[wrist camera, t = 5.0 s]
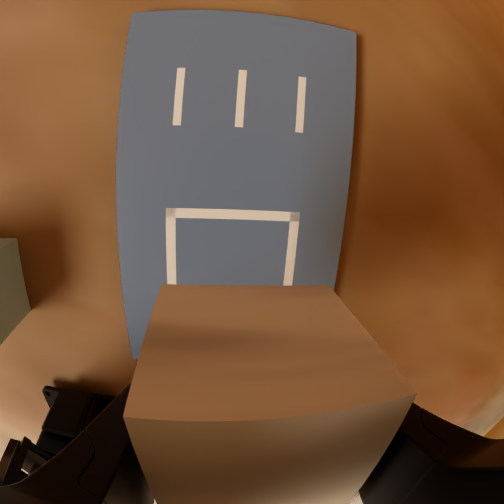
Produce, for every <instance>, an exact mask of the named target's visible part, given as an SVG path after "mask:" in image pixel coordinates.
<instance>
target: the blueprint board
mask: <svg viewBox="0 0 504 504" xmlns="http://www.w3.org/2000/svg"><path fill="white" fill-rule="evenodd" d="M355 96H356V32H353V31H349V30H346V29H342V28H338V27H334V26H330V25H325V24H321V23H316V22H311V21H306V20H301V19H295V18H289V17H283V16H276V15H268V14H260V13H251V12H239V11H223V10H165V11H150V12H138V13H132V17H131V22H130V28H129V33H128V39H127V46H126V52H125V59H124V67H123V75H122V84H121V93H120V104H119V118H118V134H117V164H116V198H117V228H118V246H119V259H120V271H121V281H122V291H123V299H124V307H125V315H126V322H127V329H128V335H129V341H130V347H131V353H132V359H135V360H138V357H139V354H140V350H141V347H142V344H143V340H144V337H145V334H146V330H147V327H148V324H149V320H150V317H151V314H152V311H153V308H154V305H155V302H156V298H157V295H158V292H159V289H160V286H161V284H180V285H245V286H296V285H329V286H330V287H331V288H332V290H333V291H334V287H335V281H336V275H337V269H338V263H339V257H340V250H341V243H342V237H343V229H344V222H345V214H346V206H347V198H348V189H349V179H350V169H351V158H352V146H353V133H354V117H355Z"/></svg>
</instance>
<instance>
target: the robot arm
mask: <svg viewBox="0 0 504 504" xmlns="http://www.w3.org/2000/svg"><path fill="white" fill-rule="evenodd" d="M131 383H132V382H131ZM131 383H130V384H129V385H128V386H127V387H126V388H125V389H124V390H123V391H122V392H121V393H120V394H119V395H118V396H117V397H113V396H107V395H99V394H92V393H85V392H79V391H73V390H67V389H62V388H56V387H51V386H45V387H44V388H43V391H42V392H43V394H44V397H45V399H46V401H47V403H48V405H49V407H50V410H49V412H48V414H47V416H46V419H45V421H44V423H43V425H42V431H41V434H40V436H39V439H38V441H37V443H36V445H35V444H33V443H32V442H31V440H29V439H28V438H27V437H25V436H24V438H23V440H22V441H21V442H20V441H19V440H14V439H10V441H9V443H8V445H7V447H6V450H5V452H4V454H3V456H2V459H1V461H0V504H153V503H154V496H153V494H152V492H151V490H150V487H149V485H148V483H147V480H146V478H145V476H144V473H143V471H142V468H141V466H140V463H139V461H138V458H137V455H136V453H135V450H134V447H133V445H132V442H131V439H130V436H129V433H128V430H127V427H126V424H125V421H124V418H123V414H124V410H125V406H126V402H127V398H128V394H129V390H130V387H131ZM21 468H22V469H24V470H25V471H27V472H28V474H26V473H25V472H23V471H22V470H21ZM359 494H360V497H361V499H362V502H363V504H504V439H489V438H485V437H483V436H480V435H478V434H475V433H473V432H470V431H468V430H466V429H463V428H461V427H459V426H456V425H454V424H452V423H450V422H448V421H445V420H443V419H441V418H439V417H438V416H436V415H434V414H432V413H430V412H428V411H427V410H425V409H423V408H422V409H421V407H419V406H418V405H416V404H414V403H413V402H412V404H411V406H410V408H409V410H408V412H407V414H406V416H405V418H404V420H403V421H402V423H401V425H400V427H399V429H398V430H397V432H396V434H395V436H394V437H393V439H392V441H391V442H390V444H389V446H388V447H387V449H386V451H385V452H384V454H383V455H382V457H381V459H380V460H379V462H378V463H377V465H376V466H375V468H374V469H373V471H372V472H371V474H370V475H369V477H368V478H367V479H366V481H365V482H364V484H363V485H362V486H361V488H360V489H359Z"/></svg>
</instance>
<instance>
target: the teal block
mask: <svg viewBox="0 0 504 504" xmlns="http://www.w3.org/2000/svg"><path fill="white" fill-rule="evenodd" d="M30 311H31V308H30V304H29V300H28V295H27V291H26V286H25V282H24V277H23V272H22V266H21V260H20V254H19V248H18V241H17V238H0V345H1V344H2V343H3V341H4V340H5V339H6V338H7V337H8V335H9V334H10V333H11V332H12V331H13V330H14V328H15V327H16V326H17V325H18V324H19V323H20V322H21V321H22V319H23V318H24V317H25V316H26V315H27V314H28V313H29V312H30Z"/></svg>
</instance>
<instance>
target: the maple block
mask: <svg viewBox="0 0 504 504" xmlns="http://www.w3.org/2000/svg"><path fill="white" fill-rule="evenodd" d="M416 394H417V393H416V392H415V391H414V389H413V388H412V387H411V386H410V384H409V383H408V382H407V380H406V379H405V378H404V377H403V375H402V374H401V373H400V372H399V370H398V369H397V368H396V366H395V365H394V364H393V363H392V361H391V360H390V359H389V358H388V356H387V355H386V354H385V353H384V351H383V350H382V349H381V348H380V346H379V345H378V344H377V343H376V342H375V340H374V339H373V338H372V337H371V335H370V334H369V333H368V332H367V330H366V329H365V328H364V327H363V326H362V324H361V323H360V322H359V321H358V320H357V318H356V317H355V316H354V315H353V313H352V312H351V311H350V310H349V309H348V307H347V306H346V305H345V304H344V303H343V301H342V300H341V299H340V298H339V297H338V296H337V294H336V293H335V292H334V291H333V290H332V288H331V287H330V286H329V285H296V286H245V285H180V284H161V286H160V289H159V292H158V295H157V298H156V302H155V305H154V308H153V311H152V314H151V317H150V320H149V324H148V327H147V330H146V334H145V337H144V340H143V344H142V347H141V350H140V354H139V357H138V361H137V365H136V368H135V372H134V375H133V379H132V383H131V387H130V390H129V394H128V398H127V402H126V406H125V410H124V414H123V418H124V421H125V424H126V427H127V430H128V433H129V436H130V439H131V442H132V445H133V447H134V450H135V453H136V455H137V458H138V461H139V463H140V466H141V468H142V471H143V473H144V476H145V478H146V480H147V483H148V485H149V487H150V490H151V492H152V494H153V496H154V498H155V501H156V503H157V504H349V502H350V501H351V500H352V499H353V497H354V496H355V495H356V493H357V492H358V491H359V489H360V488H361V486H362V485H363V484H364V482H365V481H366V479H367V478H368V477H369V475H370V474H371V472H372V471H373V469H374V468H375V466H376V465H377V463H378V462H379V460H380V459H381V457H382V455H383V454H384V452H385V451H386V449H387V447H388V446H389V444H390V442H391V441H392V439H393V437H394V436H395V434H396V432H397V430H398V429H399V427H400V425H401V423H402V421H403V420H404V418H405V416H406V414H407V412H408V410H409V408H410V406H411V404H412V402H413V400H414V398H415V396H416Z"/></svg>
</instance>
